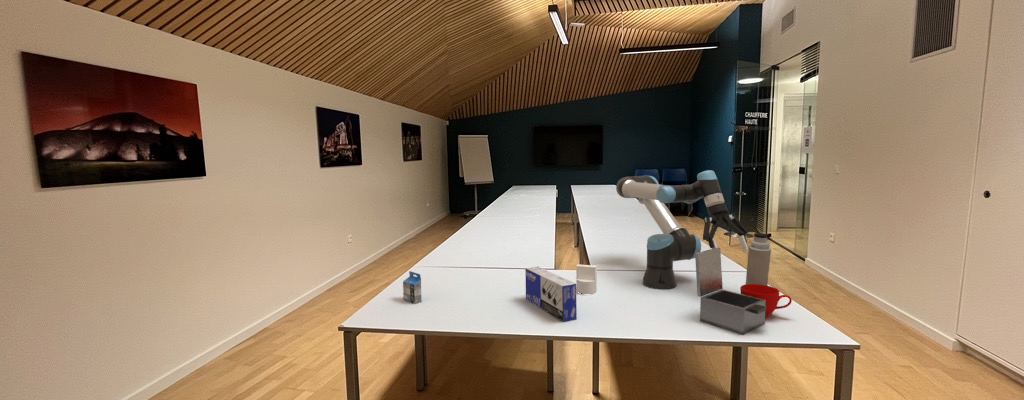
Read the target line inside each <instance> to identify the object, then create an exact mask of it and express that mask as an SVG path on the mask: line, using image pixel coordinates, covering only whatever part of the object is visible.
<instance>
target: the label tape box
mask: <svg viewBox="0 0 1024 400" xmlns="http://www.w3.org/2000/svg"><path fill="white" fill-rule="evenodd" d="M408 273H409V276H408V277H407V278H405V279H404V280H403V281H402V291H403V293H402V296H403V297H402V299H403V301H405V302H410V303H412V304H419V302H420V303H422V301H423V300H422V278H421V274H420V273H417V272H414V271H410V270H409V271H408Z"/></svg>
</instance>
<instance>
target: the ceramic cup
mask: <svg viewBox="0 0 1024 400" xmlns="http://www.w3.org/2000/svg"><path fill="white" fill-rule="evenodd" d="M739 288H740V290H739V291H740V294H743V295H747V296H752V297H756V298H760V299H764V300H766V304H765V307H766V311H765V318H768V317H769V316H770V315H771V314H773V312H774V311H775V310H780V309H784V308H787V307H789V306H790V305H791V303H792V301H793V300H792V299H793V298H791V296H790V295H788V294H782V295H780V290H779V289H778V288H776V287H773V286H769V285H768V286H767V285H761V284H746V283H745V284H742V285H740V287H739ZM782 298H788V299H789V300H788V303H786V304H784V305H779V306H778V304H779V301H780V300H781V299H782Z"/></svg>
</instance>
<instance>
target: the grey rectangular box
mask: <svg viewBox="0 0 1024 400" xmlns="http://www.w3.org/2000/svg"><path fill="white" fill-rule="evenodd" d="M765 304H766V300H764V299H760V298H756V297H752V296H747V295H743V294H741V293H738V292H735V291H734V292H733V291H731V290H726V289H721V290H718V291H715V292H713V293H710V294H707V295H704V296H702V297H700V304H699V305H700V307H699V321H700V322H702V323H705V324H708V325H712V326H714V327H717V328H721V329H723V330H728V331H730V332H733V333H736V334H740V335H746V334H748V333H750V332H751V331H754V330H756V329H757V328H760V327H762V326H764V325H765V324H766V323H765V322H766V317H765V311H766V307H765Z"/></svg>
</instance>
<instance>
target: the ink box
mask: <svg viewBox="0 0 1024 400" xmlns="http://www.w3.org/2000/svg"><path fill="white" fill-rule="evenodd" d="M527 299H528V300H529V301H528V300H527ZM525 300H527V301H528V302H530V301H531V302H530V303H531V304H533V303H534V304H533V305H535V304H536V305H535V306H537V307H538V306H539V307H538V308H540V309H541V310H543V311H545V312H546V311H547V313H548V314H550V315H551V316H553V317H555V318H557V319H558V320H559V321H561V322H567V321H572V320H577V317H578V316H577V315H578V314H577V292H576V282H574V281H572V280H569V279H567V278H564V277H562V276H561V275H559V274H556V273H553V272H551V271H548V270H547V269H545V268H542V267H540V266H532V267H526V268H525Z"/></svg>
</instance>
